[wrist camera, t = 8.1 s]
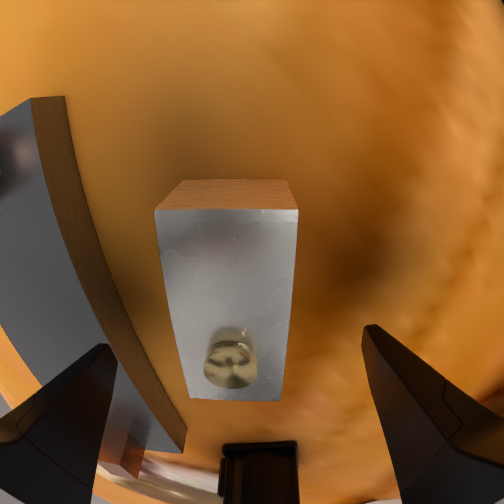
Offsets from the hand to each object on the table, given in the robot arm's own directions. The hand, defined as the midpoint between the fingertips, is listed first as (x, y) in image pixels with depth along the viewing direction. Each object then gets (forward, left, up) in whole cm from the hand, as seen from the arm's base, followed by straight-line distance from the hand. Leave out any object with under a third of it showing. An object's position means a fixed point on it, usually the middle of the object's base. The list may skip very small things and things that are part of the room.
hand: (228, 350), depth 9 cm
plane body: (+11, +2, -5) cm, 12 cm away
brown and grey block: (0, 0, -5) cm, 5 cm away
